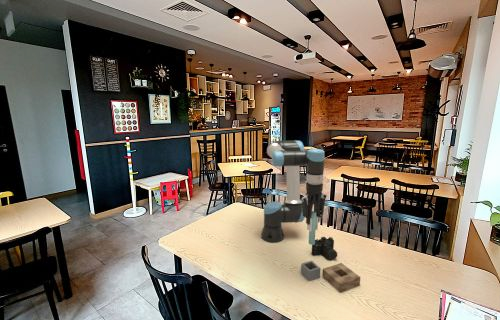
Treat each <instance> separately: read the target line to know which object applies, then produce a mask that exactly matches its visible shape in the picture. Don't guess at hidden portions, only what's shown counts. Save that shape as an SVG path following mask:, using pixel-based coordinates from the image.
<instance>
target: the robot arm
mask: <svg viewBox="0 0 500 320" xmlns="http://www.w3.org/2000/svg"><path fill="white" fill-rule="evenodd" d="M266 153H267V156H269V157H270V158H271V162H272V163H271V164H272V165H273V166H274V167H286V168H285V169H286V172H285V173H286V175H285V177H286V200H284V204H283V203H282V202H280V201H270V202H267V203H266V204H265V205H264V209H263V227H262V230H261V232H260V233H261V234H260V235H261V236H260V237H261V239H262V240H263V241H265V242H266V243H279V242H282V241H283V240H284V238H285V235H284V234H285V233H284V229H283V227H282V224H284V223H285V224H286V223H290V224H291V223H295V224H297V223H302V222H303V221H304V220H305V224H306V230H307V231H308V232H309V231H310V232H311V231H312V218H311V214H312V211H313V209H314V211H315V212H316V231H318V230H319V222H320V218H321V217H322V215H324V210H325V203H326V199H327V194H324V193H323V189H324V184H323V182H324V171H325V170H324V169H325V158H326V157H325V150H324V149H319V148H310V149H305V147H304V143H303V142H302V141H301V140H295V139H294V140H275V141H273V142H271V143H269V144H268V145H267V148H266ZM303 166H304V167H306V176H305V178H306V179H305V180H306V185H305V190H306V192H305V195H304V196H301V194H300V193H301V189H300V188H301V187H300V186H301V185H300V183H301V182H300V181H301V178H300V167H303ZM313 207H314V208H313Z"/></svg>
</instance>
